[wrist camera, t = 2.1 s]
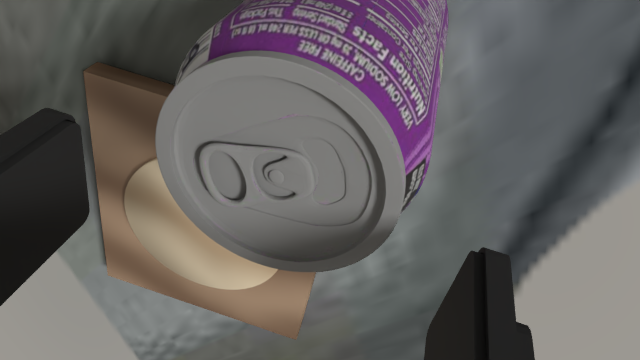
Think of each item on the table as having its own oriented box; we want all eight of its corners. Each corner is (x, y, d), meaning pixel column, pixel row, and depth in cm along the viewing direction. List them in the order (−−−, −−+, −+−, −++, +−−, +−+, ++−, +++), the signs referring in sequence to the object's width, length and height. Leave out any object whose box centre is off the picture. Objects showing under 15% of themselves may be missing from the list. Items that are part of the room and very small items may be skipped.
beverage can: (298, 96, 24) (186, 275, 15) (269, -62, 20) (90, 43, 11) (449, 92, 22) (429, 296, 13) (449, -85, 18) (421, 22, 9)
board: (97, 62, 26) (78, 74, 25) (353, 140, 25) (346, 157, 23) (117, 263, 36) (104, 279, 34) (301, 325, 35) (294, 344, 33)
